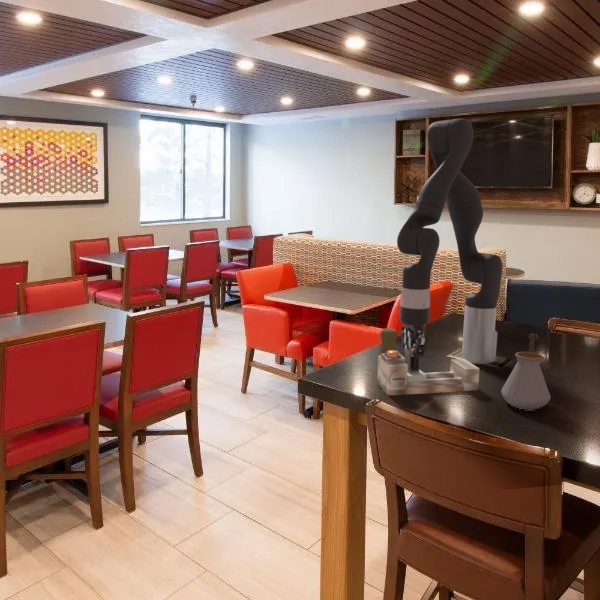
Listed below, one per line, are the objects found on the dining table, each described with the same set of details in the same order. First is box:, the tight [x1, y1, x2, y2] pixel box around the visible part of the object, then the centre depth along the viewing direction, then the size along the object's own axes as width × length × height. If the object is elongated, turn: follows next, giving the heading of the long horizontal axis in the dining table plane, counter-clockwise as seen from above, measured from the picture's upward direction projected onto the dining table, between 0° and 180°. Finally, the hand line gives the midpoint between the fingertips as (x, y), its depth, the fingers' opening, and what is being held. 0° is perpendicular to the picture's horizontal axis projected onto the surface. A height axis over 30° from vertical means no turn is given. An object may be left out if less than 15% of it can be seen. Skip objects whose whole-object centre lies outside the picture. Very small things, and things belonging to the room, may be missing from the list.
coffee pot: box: [501, 332, 552, 411], centre depth 152 cm, size 21×12×15 cm, turn 155°
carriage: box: [404, 348, 427, 382], centre depth 158 cm, size 5×8×8 cm, turn 10°
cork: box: [378, 327, 398, 356], centre depth 179 cm, size 6×6×11 cm
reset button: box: [387, 350, 400, 358], centre depth 157 cm, size 3×3×2 cm
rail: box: [376, 352, 480, 396], centre depth 159 cm, size 25×10×9 cm, turn 101°
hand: (412, 367), depth 159 cm, fingers closed on carriage, 3 cm apart
